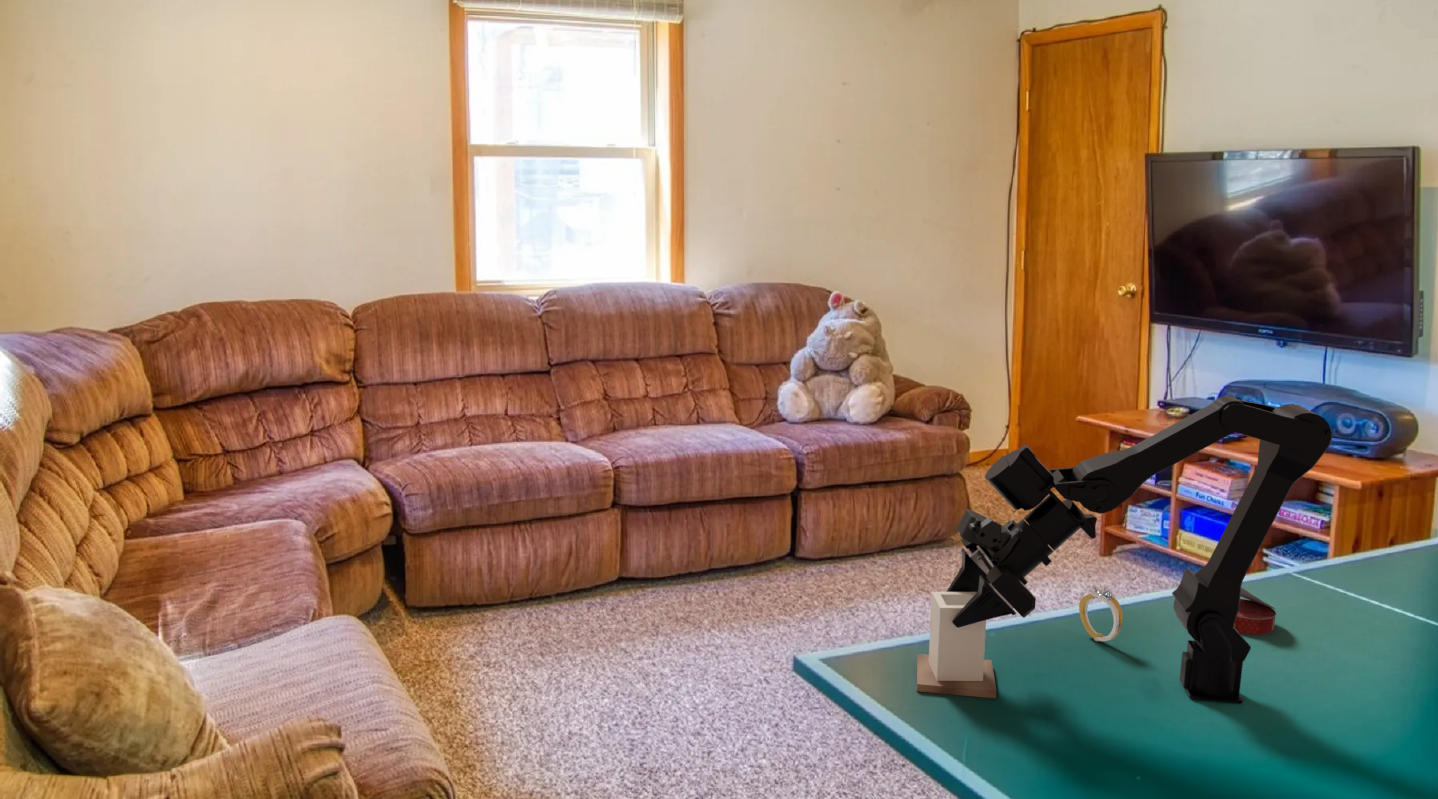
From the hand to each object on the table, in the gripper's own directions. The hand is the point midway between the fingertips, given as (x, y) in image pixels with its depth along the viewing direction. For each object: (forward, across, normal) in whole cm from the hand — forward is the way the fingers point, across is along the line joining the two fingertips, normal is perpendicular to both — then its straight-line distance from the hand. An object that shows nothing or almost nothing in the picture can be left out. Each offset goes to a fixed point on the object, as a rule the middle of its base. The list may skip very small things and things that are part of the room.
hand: (948, 614), depth 152 cm
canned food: (-28, -22, +42) cm, 55 cm away
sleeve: (+5, 0, +7) cm, 8 cm away
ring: (-11, -14, +24) cm, 30 cm away
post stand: (+5, 0, +7) cm, 9 cm away
